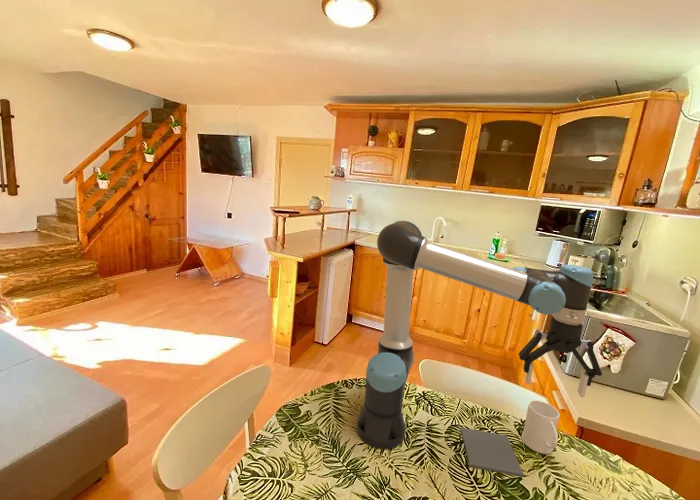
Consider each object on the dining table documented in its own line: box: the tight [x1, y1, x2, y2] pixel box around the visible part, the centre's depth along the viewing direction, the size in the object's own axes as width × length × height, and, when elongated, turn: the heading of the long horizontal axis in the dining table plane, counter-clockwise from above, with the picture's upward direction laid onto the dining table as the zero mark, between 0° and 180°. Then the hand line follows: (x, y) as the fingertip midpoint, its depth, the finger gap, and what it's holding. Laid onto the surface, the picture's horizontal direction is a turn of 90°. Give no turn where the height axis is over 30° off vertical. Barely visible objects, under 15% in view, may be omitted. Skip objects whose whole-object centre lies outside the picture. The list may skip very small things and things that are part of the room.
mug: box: [521, 399, 560, 455], centre depth 94 cm, size 12×8×12 cm
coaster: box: [460, 427, 525, 478], centre depth 92 cm, size 14×14×1 cm
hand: (553, 388), depth 91 cm, fingers open, 13 cm apart
